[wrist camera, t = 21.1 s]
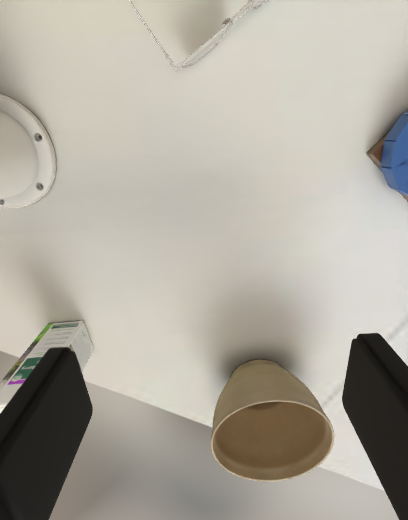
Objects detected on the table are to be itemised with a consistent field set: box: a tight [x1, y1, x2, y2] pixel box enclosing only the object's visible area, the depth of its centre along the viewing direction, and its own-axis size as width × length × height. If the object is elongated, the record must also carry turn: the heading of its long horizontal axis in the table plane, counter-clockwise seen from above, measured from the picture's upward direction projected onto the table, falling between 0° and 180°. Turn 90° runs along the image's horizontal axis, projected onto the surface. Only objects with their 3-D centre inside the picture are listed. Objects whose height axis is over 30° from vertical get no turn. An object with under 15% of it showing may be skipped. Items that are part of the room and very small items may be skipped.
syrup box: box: [0, 320, 93, 413], centre depth 38 cm, size 6×6×14 cm
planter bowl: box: [211, 360, 334, 482], centre depth 43 cm, size 16×16×11 cm
